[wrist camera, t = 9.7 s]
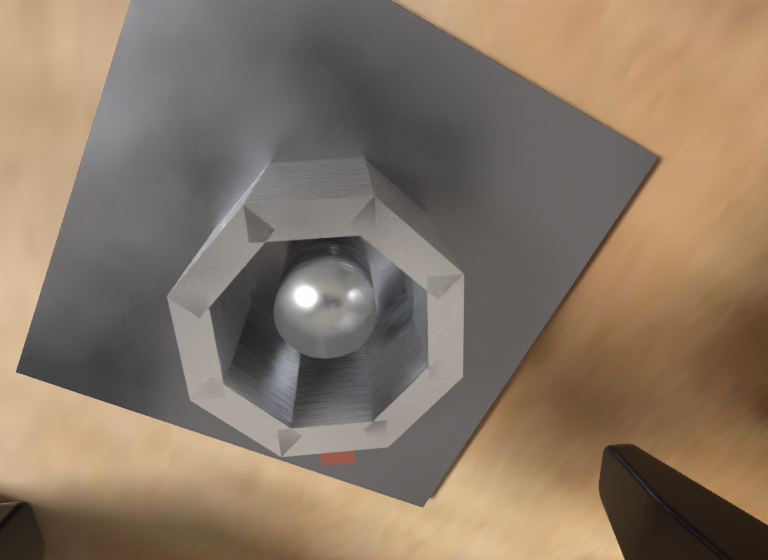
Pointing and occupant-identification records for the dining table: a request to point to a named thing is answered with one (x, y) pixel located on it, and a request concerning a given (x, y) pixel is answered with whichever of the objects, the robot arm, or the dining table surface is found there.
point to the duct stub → (321, 255)
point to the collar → (309, 374)
